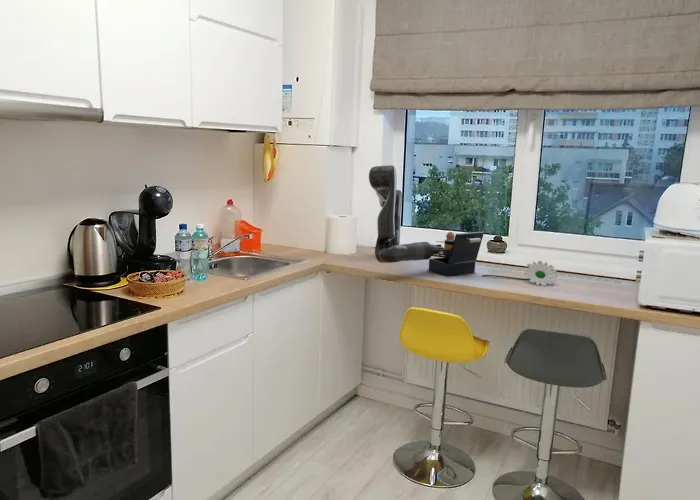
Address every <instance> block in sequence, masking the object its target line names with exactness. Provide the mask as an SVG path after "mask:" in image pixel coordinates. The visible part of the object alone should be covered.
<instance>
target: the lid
mask: <svg viewBox="0 0 700 500" xmlns="http://www.w3.org/2000/svg"><path fill="white" fill-rule="evenodd" d="M484 235H485V232H484V231H473V232H462V233H455V234H454V237H455V238H454V243H453V247H452V250H451V254H450V258H449V262H448V263H449V264H450V263H459V262H468V261H475V262H476V261H477V259H478V256H479V252H480V248H481V246H482V245H481V244H482V241H483V238H484Z"/></svg>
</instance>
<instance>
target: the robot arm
mask: <svg viewBox="0 0 700 500" xmlns="http://www.w3.org/2000/svg"><path fill="white" fill-rule="evenodd" d="M397 179H398V178H397V171H396V167H395V166H394V165H389V164H388V165H376V166H372V167H371V168H370V169H369V172H368V181H369V184H370V187H371V188H372V189H373V190H374V192H375V194H376V196H377V197H378V202H379V206H380V208H381V209H380V211H379V213H378V215H377V222H376V226H377V227H376V228H377V229H376V230H377V238H376V241H375V247H374V256H375V259H376V261H377V262H378V263H381V264H392V263H400V262H408V261H413V262H414V261H415V262H417V261H425V260H429V259H431V257H432V256H439V257H442V256H443V257H444V255H450V253H451V250H452V248H444V246H442V244H433V243H432V244H431V243H429V242H428V241H419V242H411V243H404V244H400V243H401V242H400V240H401V219H402V218H401V216H402V215H401V214H402V205H403V204H402V203H403V193H402V191H401V190H400V189H399V190H398V189H397Z"/></svg>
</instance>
